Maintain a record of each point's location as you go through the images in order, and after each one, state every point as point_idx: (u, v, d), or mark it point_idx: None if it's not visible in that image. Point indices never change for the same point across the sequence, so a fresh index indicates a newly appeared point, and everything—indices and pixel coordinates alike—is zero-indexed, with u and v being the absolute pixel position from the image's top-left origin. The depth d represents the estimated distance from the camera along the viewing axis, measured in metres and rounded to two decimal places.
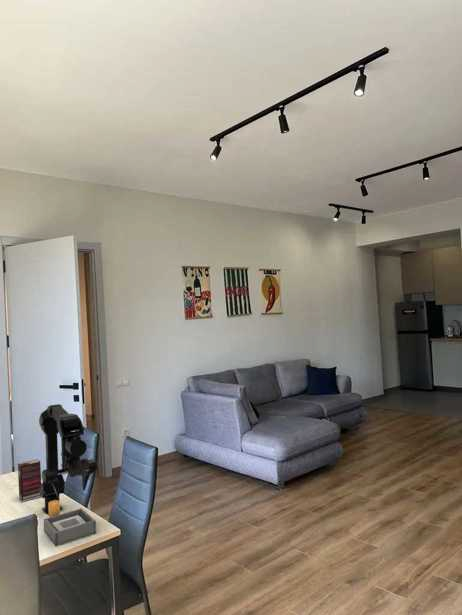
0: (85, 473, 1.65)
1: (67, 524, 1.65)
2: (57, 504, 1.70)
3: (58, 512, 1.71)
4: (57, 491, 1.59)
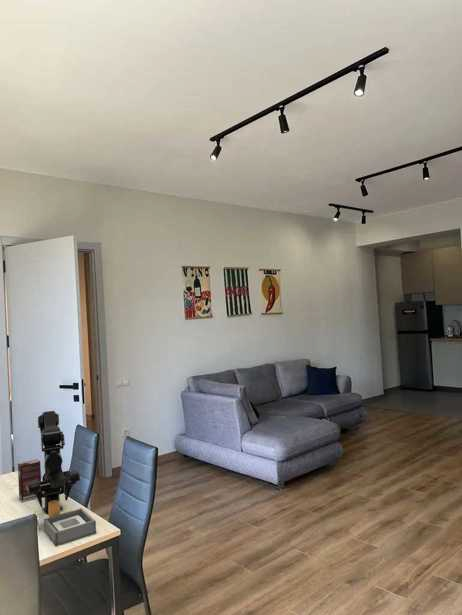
0: (67, 484, 1.74)
1: (67, 524, 1.65)
2: (57, 504, 1.70)
3: (58, 512, 1.71)
4: (40, 502, 1.68)
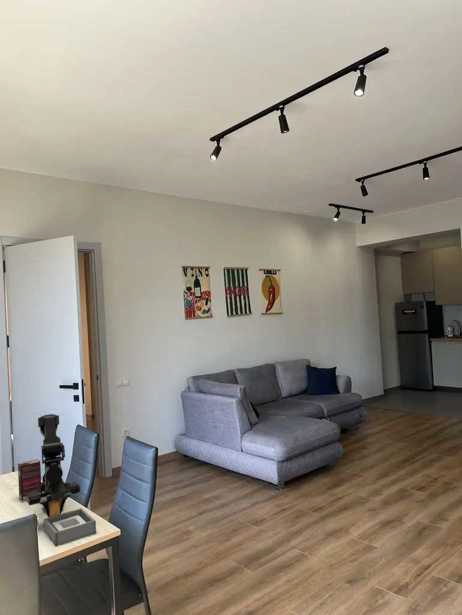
0: (61, 497, 1.72)
1: (67, 524, 1.65)
2: (57, 504, 1.70)
3: (58, 512, 1.71)
4: (47, 512, 1.69)
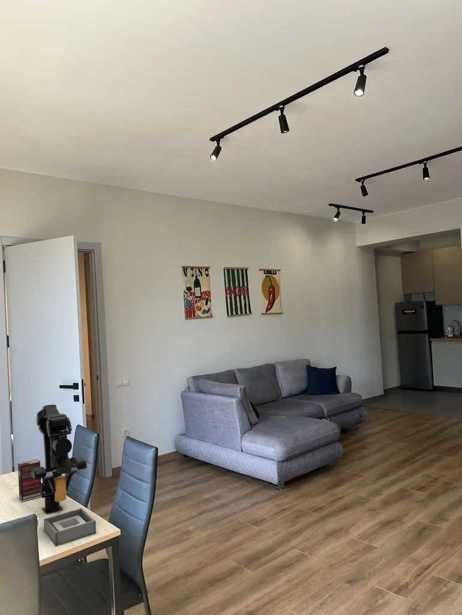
0: (67, 473, 1.68)
1: (67, 524, 1.65)
2: (63, 480, 1.66)
3: (64, 488, 1.67)
4: (53, 487, 1.65)
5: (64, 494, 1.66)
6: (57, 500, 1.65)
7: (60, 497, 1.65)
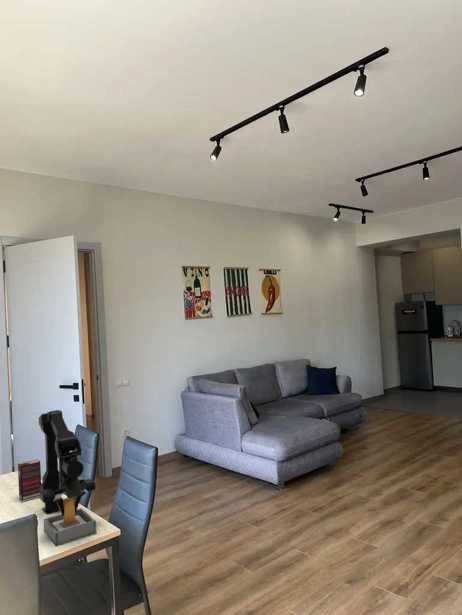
0: None
1: (67, 524, 1.65)
2: (72, 502, 1.62)
3: (73, 510, 1.62)
4: (62, 510, 1.61)
5: (73, 516, 1.62)
6: (66, 523, 1.61)
7: (69, 520, 1.61)
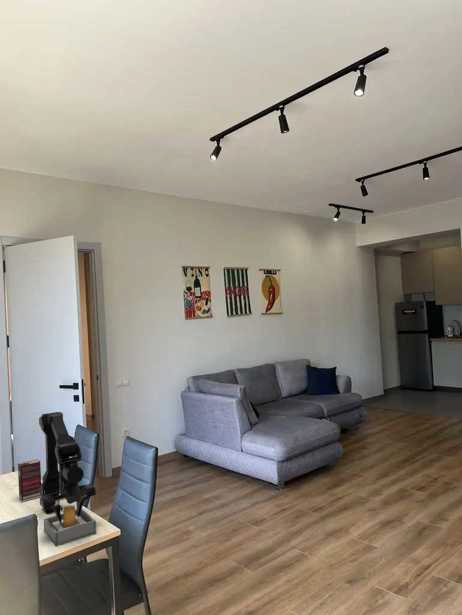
0: None
1: None
2: (72, 510, 1.62)
3: (73, 518, 1.62)
4: (59, 516, 1.60)
5: (73, 525, 1.62)
6: None
7: None
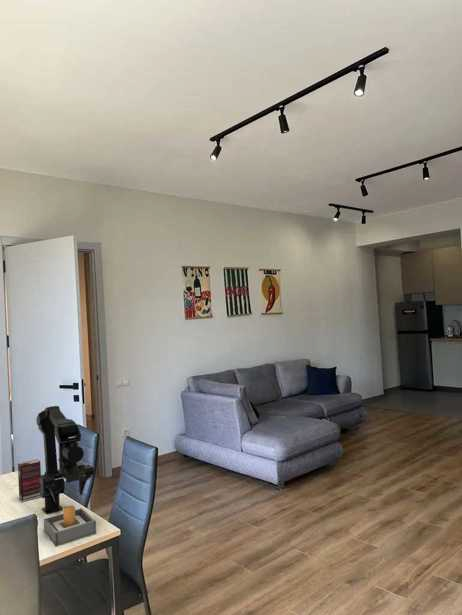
0: (82, 478, 1.69)
1: None
2: (72, 510, 1.62)
3: (73, 518, 1.62)
4: (54, 496, 1.63)
5: (73, 525, 1.62)
6: None
7: None
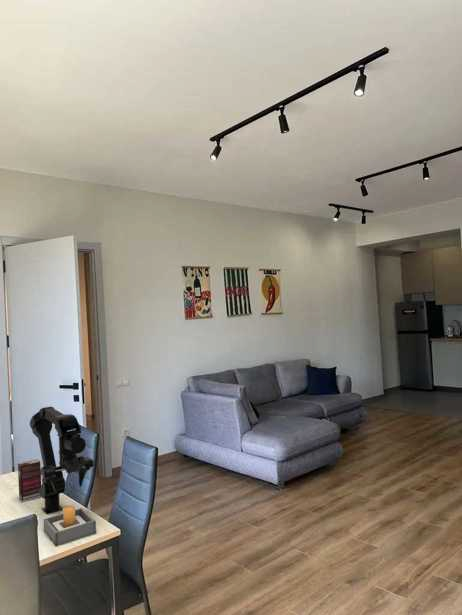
0: (81, 470, 1.75)
1: None
2: (72, 510, 1.62)
3: (73, 518, 1.62)
4: (55, 487, 1.69)
5: (73, 525, 1.62)
6: None
7: None
